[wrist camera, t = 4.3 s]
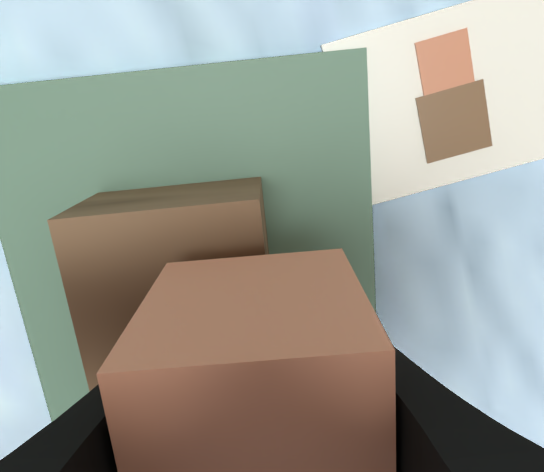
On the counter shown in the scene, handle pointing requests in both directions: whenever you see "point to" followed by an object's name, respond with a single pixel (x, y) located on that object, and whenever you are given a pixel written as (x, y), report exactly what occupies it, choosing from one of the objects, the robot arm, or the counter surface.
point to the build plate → (182, 167)
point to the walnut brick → (146, 249)
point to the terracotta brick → (253, 370)
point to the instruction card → (453, 94)
